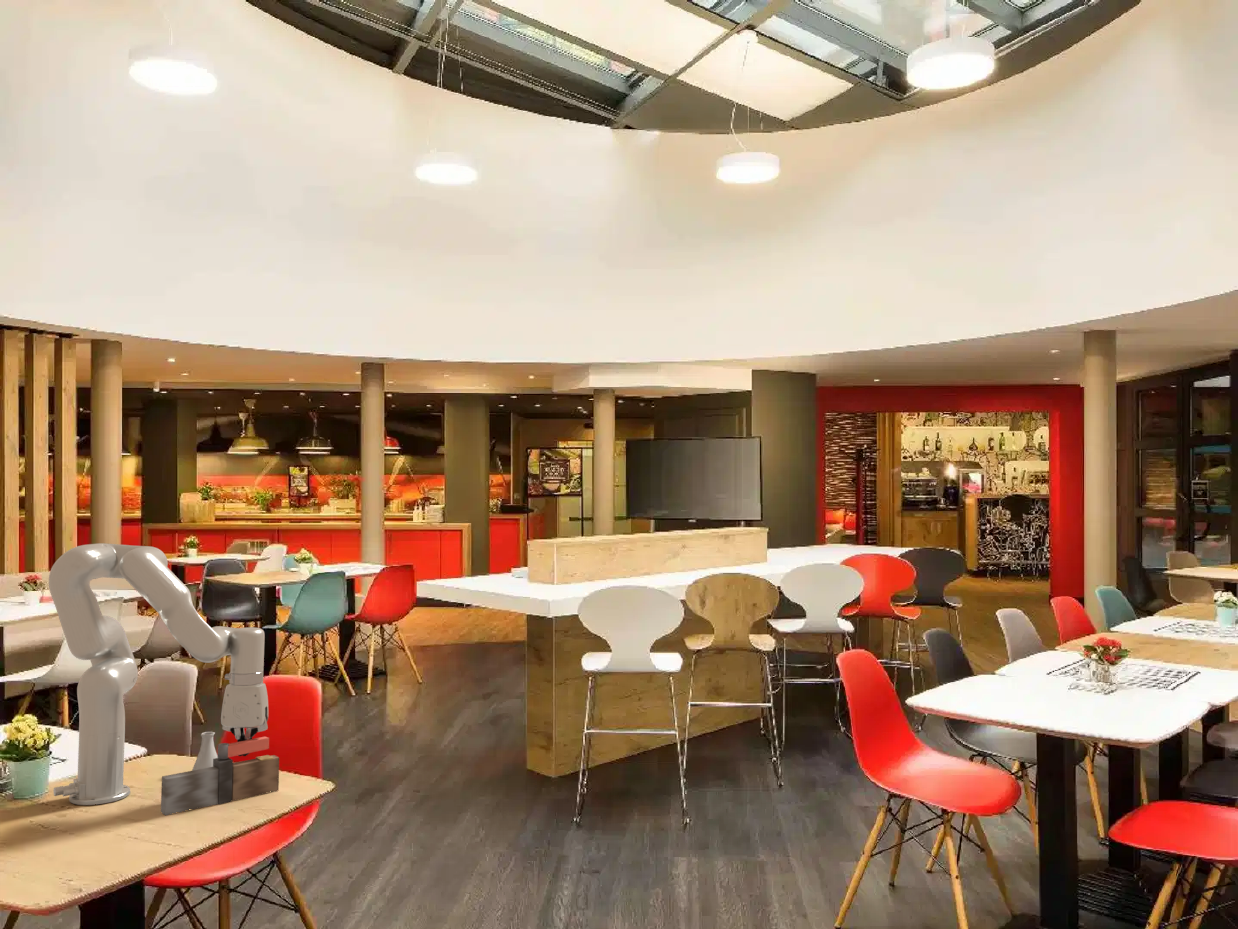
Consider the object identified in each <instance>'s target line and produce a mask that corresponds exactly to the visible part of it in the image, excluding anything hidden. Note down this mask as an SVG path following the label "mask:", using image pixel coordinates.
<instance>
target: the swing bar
mask: <svg viewBox="0 0 1238 929" xmlns="http://www.w3.org/2000/svg"><path fill="white" fill-rule="evenodd" d="M269 749H270V737H267V736H262V737H256V738H252V739H250V740H245V741H240V742H237V741H236V742H230V743H228V742H223V743H222V742H221V743H218V744H217V756H218V757H217V759H220V760H222V759H227V758H232V757H236V756H238V755H242V754H246V753H249V754H251V753H255V752H260V751H265V750H269Z"/></svg>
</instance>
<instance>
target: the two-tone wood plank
mask: <svg viewBox="0 0 1238 929" xmlns="http://www.w3.org/2000/svg"><path fill="white" fill-rule="evenodd" d="M279 777H280V757H279V756H278V755H275V754H273V755H269V754H266V755H265V754H264V755H261V756H256V757H255V758H253V759H248V760H247V759H246V760H241V761H235V762H234V760H233V759H232V758H231V757H229V758H227V759H222V760H220V759H217V758H215V759H213V767H209V768H204V769H198V770H193V771H192V770H188V771H183V772H178V773H173V774H168V775H162V776H161V791H160V792H161V795H160V796H161V798H160V813H161V812H162V813H161V814H162V815H164V816H166V817H167V816H169V814H170V815H173V814H172V813H175V814H177V813H176V812H179V813H182V811H184V812H186V811H185V810H188V811H190V810H189V809H193V810H196V809H201V808H206V807H211V806H214V805H218V806H219V805H223V804H227V803H228V804H229V803H232V802H233V801H238V799H239V800H242V799H241V798H243V799H246V798H245V797H248V798H251V797H256V796H255V795H257V796H260V795H259V794H261V795H263V794H262V793H266V792H270V791H275V792H278V791H279V784H280V781H279V780H280V778H279ZM277 790H278V791H277ZM266 794H267V793H266Z"/></svg>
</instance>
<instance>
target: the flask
mask: <svg viewBox="0 0 1238 929" xmlns="http://www.w3.org/2000/svg"><path fill="white" fill-rule="evenodd" d="M215 734H216V732H214V731H205V732H202V733H201V734H200V737H201V743H200V749H199V751H198V755H197V757H196V760H195V762H194V765H193V767H192V770H191V771H193V770H198V769H204V768H209V767H213V759H215V758H217V757H218V752H217V750H216V748H215V742H214V735H215Z"/></svg>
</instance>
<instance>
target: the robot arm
mask: <svg viewBox="0 0 1238 929" xmlns="http://www.w3.org/2000/svg"><path fill="white" fill-rule="evenodd" d="M168 564H169V563H168V558H167V556H166V554H165V553H164V552H163V551H162V550H161V549H159V548H158V547H154V546H151V545H150V546H148V545H146V546H145V545H129V544H116V543H105V542H104V543H103V542H102V543H101V542H99V543H89V544H82V545H77V546H75V547H72V548H70V549H69V550H66V551H65V552H64V553H63V554H62V555H60V556H59V558H58V559H56V561H55V562H54V563H53V565H52V566H51V569H50V571H49V575H48V588H49V592H50V595H51V600H52V602H53V604H54V607H55V609H56V613H57V615H58V620H59V622H60V623H59V624H60V626H61V628H62V632H63V634H64V637H65V640H66V643H67V646H68V649H69V651H70V653H71V655H73V657H74V658H76V659H78V660H80V661H90V663H91V666H90V667H88V669H86V670H85V671H84V672H83V674H82V675H81V676H80V678H79V681H78V683H77V687H76V695H77V703H78V705H77V706H78V714H79V715H78V717H79V720H78V721H79V722H78V753H77V754H78V755H77V757H78V758H77V778H74V779H73V782H72V783H69V784H68V785H62V786H56V787H54V788H53V796H54V797H57V796H62V797H68V796H69V798H68V801H69V803H71V804H74V805H79V806H94V805H95V804H96V805H102V804H108V803H112V802H113V803H114V802H116V801H119V800H122V799H124V798H126V797H128V796H129V795H130V794H131V788H130V786H128V785H126V784H124V769H125V768H124V767H125V766H124V765H125V741H126V740H125V739H126V738H125V736H126V735H125V734H126V712H125V703H124V694H126V693H128V692H129V691H130V690H132V689H133V688H134V686H135V685H136V683H137V681H138V676H139V670H138V665H137V662H136V659H135V656H134V653H133V650H132V647H131V645H130V642H129V639H128V636H127V633H126V631H125V629H124V626H122V624H121V622H120V621H119V620H117V619H116V618H114V617H112V616H109V615H103V614H102V611H101V608H100V604H99V602H98V599H97V597H96V595H95V593H94V591H93V590H92V588H91V586H90V583H91V581H92V580H96V579H101V578H102V579H103V578H109V579H124V580H126V581H127V583H128V584H129V585H130V586H131V587H132V588H133V589H134V590H135V591H136V592H137V593H139V595H141V597H142V598H143V599H145V601H146V602H147V603H148V604H149V605H150V606H151V607H152V608H153V609H154V610H155V611H156V612H157V613H158V615H159V616H160V619H161V620H162V622H163V623H164V624H165V626H166V628H167V629H168V631H169V633H170V634H171V636H172V637H173V638H174V639H175V640H176V642H178V644H179V645H181V647H182V648H184V649H185V651H186V652H188V654H189V655H191V657H192V658H194V659H195V660H197V661H199V662H202V663H206V664H207V663H214V662H216V661H218V660H220V659H222V658H223V657H226V656H230V671H229V673H226V674H225V675H224V680H228V681H229V682H228V683H229V684H226V687H225V690H224V694H223V700H222V704H221V705H222V706H221V713H220V714H221V716H220V724H221V726H222V727H221V729H222V731H226V732H231V733H232V735H234V737H235V740H237V741H236V742H240V741H245V740H250V739H253V737H254V736H255V735H256V734H257V733H260V732H265V731H266V730H268V728H269V727H268V726H269V725H268V721H269V696H268V690H267V686H266V683H265V682H264V668H265V667H264V666H265V662H264V661H265V659H264V658H265V638H266V637H265V631H264V629H262V628H260V627H254V626H252V627H251V626H250V627H240V628H239V627H229V626H223V625H222V626H221V625H219V626H213V627H211V626H210V625H209V624H208V623H207V622H206V621H205V620H204V618H202V617H201V615H200V614H199V613H198V611H197V610H196V608H195V606H194V604H193V601H192V600H193V599H192V593H191V591H190V589H189V588H188V586H186V584H184V583H183V581H182V580H180V578H178V577H177V575H175V573H174V572H173V571H172V570H171V569H170V568H169V567H168ZM245 729H246V730H245ZM249 754H250V753H246V754H242V755H237V756H238V757H246V756H248V755H249Z"/></svg>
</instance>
